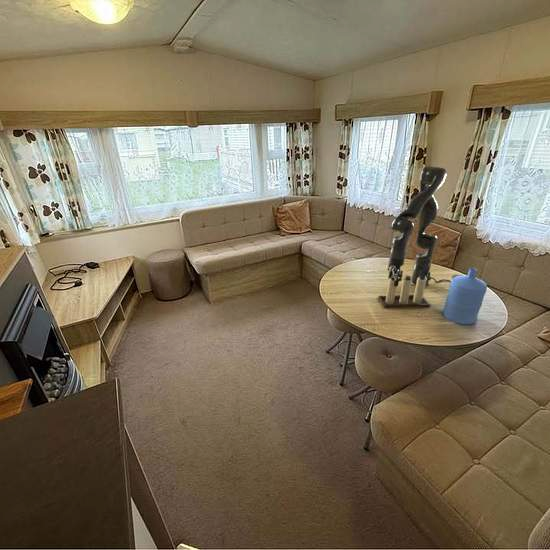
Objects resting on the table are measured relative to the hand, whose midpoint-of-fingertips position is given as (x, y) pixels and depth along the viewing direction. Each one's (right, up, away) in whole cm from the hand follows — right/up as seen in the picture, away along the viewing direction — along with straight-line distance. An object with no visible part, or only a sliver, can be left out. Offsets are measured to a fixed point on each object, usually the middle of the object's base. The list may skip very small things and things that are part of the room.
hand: (392, 282), depth 167 cm
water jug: (+32, -18, -8) cm, 38 cm away
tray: (+8, -12, +6) cm, 16 cm away
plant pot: (+44, -8, +12) cm, 47 cm away
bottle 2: (+16, -11, +6) cm, 21 cm away
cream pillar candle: (0, -12, +6) cm, 13 cm away
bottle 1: (+8, -11, +6) cm, 15 cm away
